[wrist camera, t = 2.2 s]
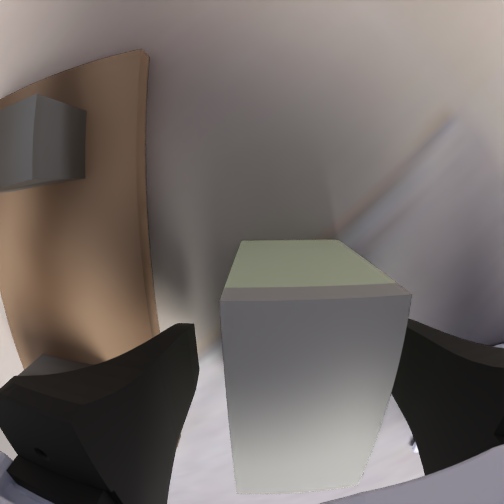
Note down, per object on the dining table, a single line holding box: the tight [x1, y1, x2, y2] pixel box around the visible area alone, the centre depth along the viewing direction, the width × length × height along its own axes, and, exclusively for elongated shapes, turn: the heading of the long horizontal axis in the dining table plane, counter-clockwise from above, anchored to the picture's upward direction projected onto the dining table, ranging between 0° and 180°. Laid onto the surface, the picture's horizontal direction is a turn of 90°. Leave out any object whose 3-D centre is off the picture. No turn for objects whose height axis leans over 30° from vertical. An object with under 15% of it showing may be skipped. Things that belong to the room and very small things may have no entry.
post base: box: [0, 49, 181, 446], centre depth 11 cm, size 10×20×4 cm, turn 1°
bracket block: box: [219, 240, 412, 494], centre depth 10 cm, size 4×7×7 cm, turn 1°
